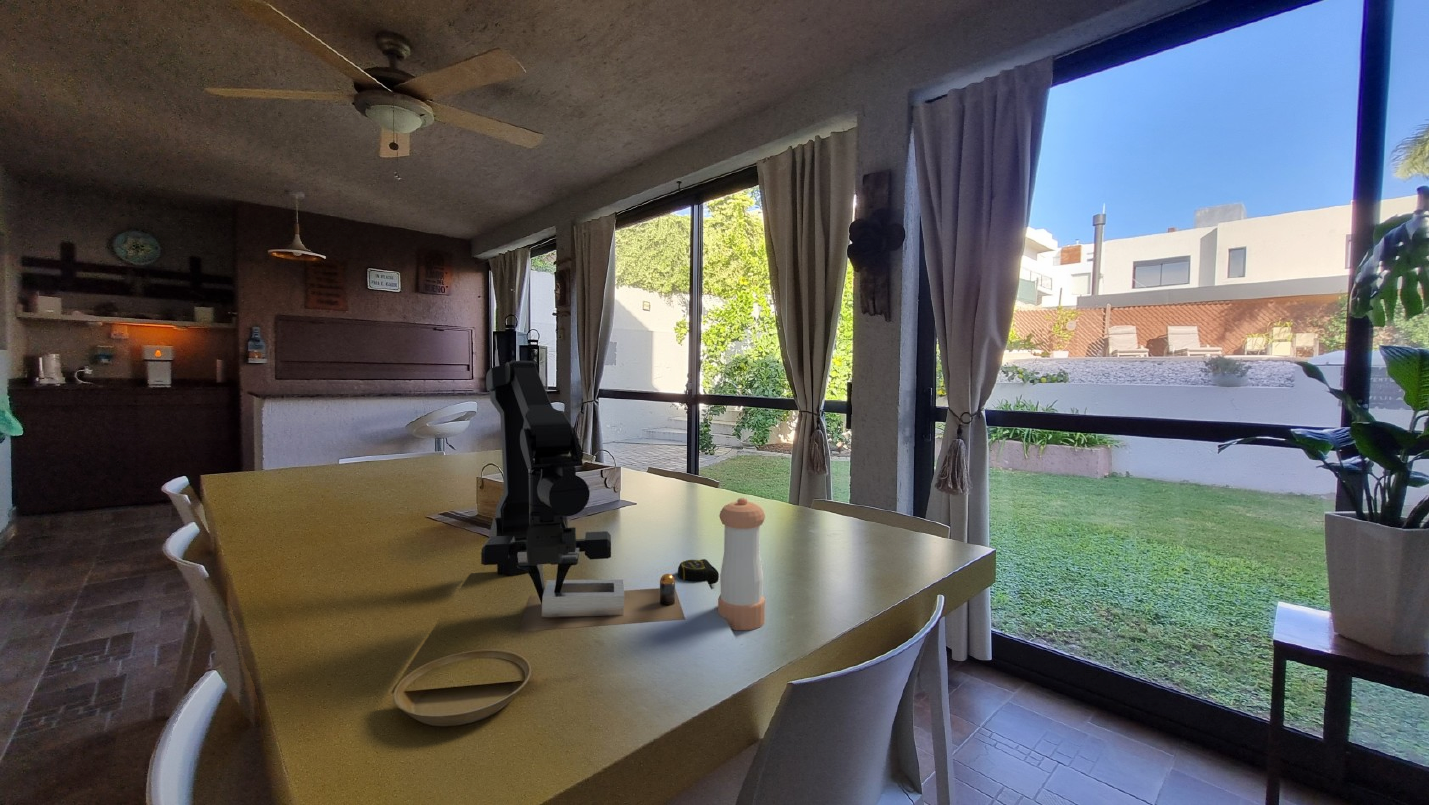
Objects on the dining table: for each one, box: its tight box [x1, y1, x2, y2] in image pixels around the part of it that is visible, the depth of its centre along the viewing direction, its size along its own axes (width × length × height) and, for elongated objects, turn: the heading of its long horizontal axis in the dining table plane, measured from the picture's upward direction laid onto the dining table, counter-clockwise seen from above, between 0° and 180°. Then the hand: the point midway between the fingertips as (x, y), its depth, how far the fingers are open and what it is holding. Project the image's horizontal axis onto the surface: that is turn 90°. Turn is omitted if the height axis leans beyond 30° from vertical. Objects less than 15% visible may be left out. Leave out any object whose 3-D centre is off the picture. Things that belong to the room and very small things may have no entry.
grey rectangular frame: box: [542, 579, 625, 617], centre depth 89 cm, size 12×7×3 cm, turn 101°
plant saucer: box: [393, 649, 532, 727], centre depth 67 cm, size 15×15×3 cm
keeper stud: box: [659, 573, 676, 606], centre depth 92 cm, size 2×2×5 cm
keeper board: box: [517, 587, 686, 633], centre depth 90 cm, size 24×13×2 cm, turn 101°
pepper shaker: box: [717, 497, 766, 631], centre depth 89 cm, size 7×7×19 cm
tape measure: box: [677, 558, 720, 586], centre depth 105 cm, size 7×7×4 cm
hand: (549, 602), depth 88 cm, fingers closed on grey rectangular frame, 2 cm apart
